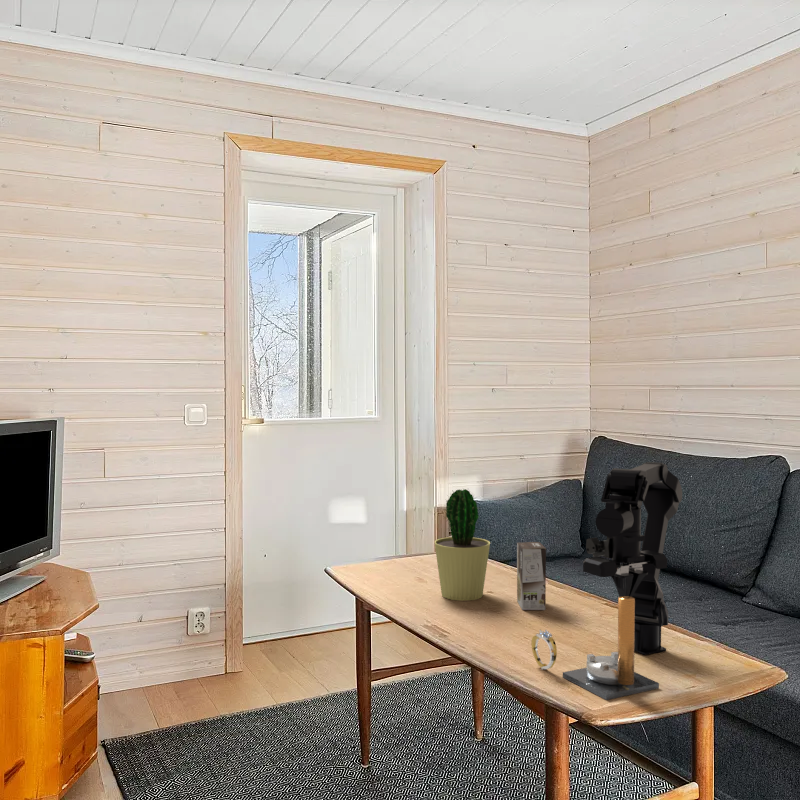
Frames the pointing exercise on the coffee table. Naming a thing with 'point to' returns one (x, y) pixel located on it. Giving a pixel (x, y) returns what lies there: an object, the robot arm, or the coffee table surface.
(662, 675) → the coffee table surface
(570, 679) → the plate
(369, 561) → the coffee table surface
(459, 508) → the potted cactus
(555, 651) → the ring
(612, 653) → the brown rod on base
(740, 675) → the coffee table surface
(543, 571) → the coffee box
